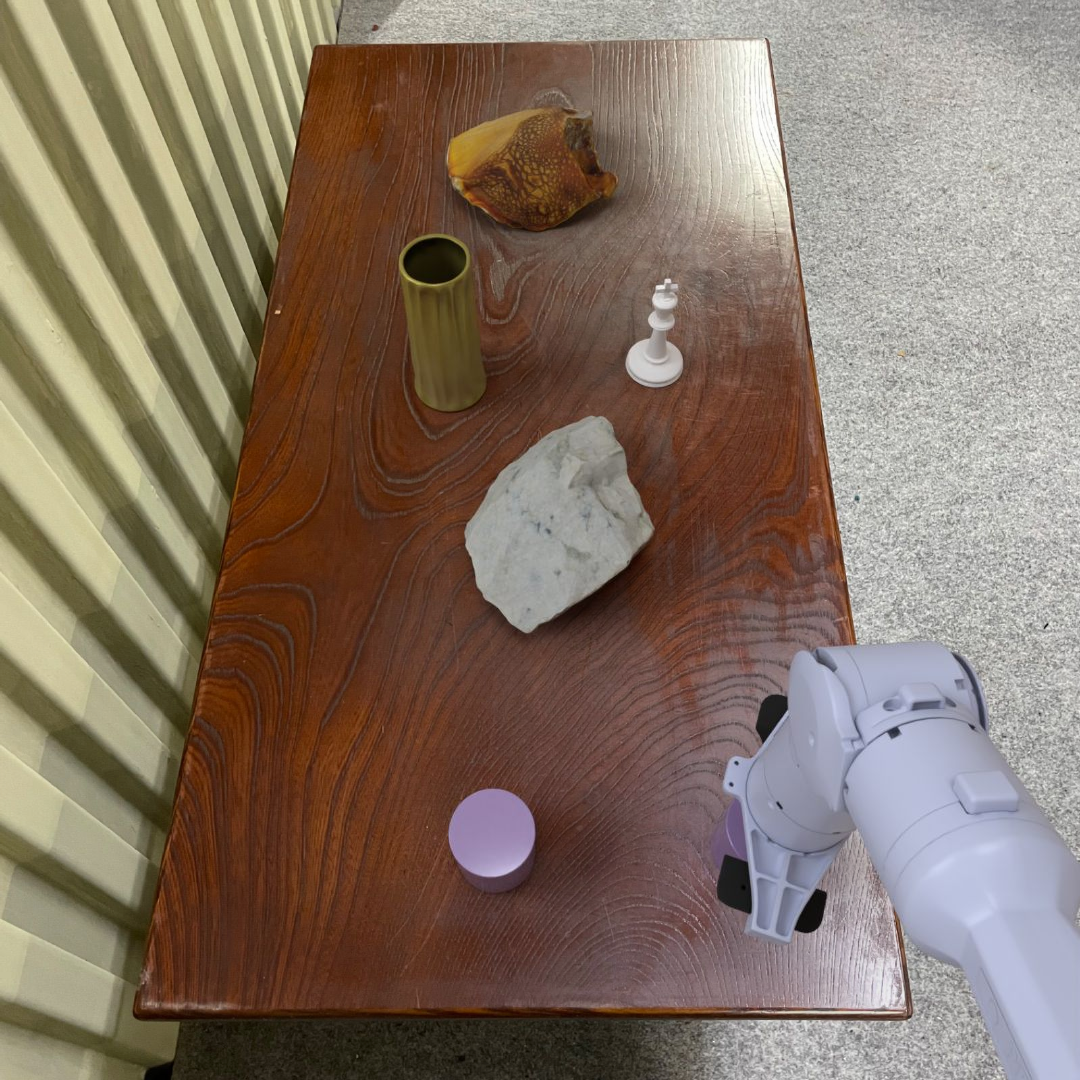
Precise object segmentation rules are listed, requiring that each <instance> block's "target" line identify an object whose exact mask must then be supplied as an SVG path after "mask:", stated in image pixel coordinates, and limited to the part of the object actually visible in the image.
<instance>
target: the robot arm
mask: <svg viewBox="0 0 1080 1080" xmlns="http://www.w3.org/2000/svg"><path fill="white" fill-rule="evenodd" d="M787 681H788V682H787V696H786V695H783V694H778V693H775V694H773V693H772V694H770V695H768V696H766V697H765V698H764V699H763V700H762V701H761V703H760V707H759V711H758V714H757V719H756V723H755V731H756V732H757V734H758V736H759V738H760V741H761V743H762V745H761V746H760V748H759V749H758V751H757V752H756V753H755V755H754V756H752V757H750V758H748V757H744V756H741V755H735V756H731V758H730V759H729V761H728V762H727V764H726V767H725V772H724V776H723V780H722V785H721V786H722V791H723V792H724V794H726V795H727V796H728V797H732V798H733V799H734V798H736V799H738V800H739V802H740V803H741V807H742V815H743V824H744V832H745V841H746V849H747V858H748V862H746V861H744V860H741V859H738V858H735V857H732V856H729V855H726V854H725V855H724V858H723V862H722V866H721V870H719V875H718V879H717V883H716V896H717V899H718V901H719V902H720V903H722V904H723V905H725V906H727V907H728V908H731V909H734V910H737V911H739V912H742V913H745V914H748V916H747V918H746V923H745V927H744V931H743V933H744V934H745V935H747V936H750V937H753V938H755V939H758V940H760V941H762V942H763V941H764V942H766V943H769V944H773V945H775V946H778V947H780V948H781V947H784V946H786V945H789V944H791V943H792V940H793V936H794V932H795V931H796V932H798V933H801V934H812V933H814V932H815V931H817V930H818V929H819V928H820V926H821V925H822V924H823V920H824V914H825V910H826V904H827V900H828V893H827V891H825V890H823V889H820V888H818V886H819V885H820V883H821V882H822V880H823V879H824V877H825V876H826V874H827V873H828V871H829V870H830V868H831V867H832V864H833V863H834V861H835V860H836V859H837V857H838V855H839V854H840V852H841V851H842V849H843V847H844V846H845V844H846V843H847V842H848V840H849V839H850V837H851V835H852V833H853V832H855V831H857V833H858V834H859V836H860V838H861V840H862V843H863V845H864V848H865V849H866V851H867V853H868V855H869V858H870V860H871V863H872V864H873V867H874V868H875V871H876V872H877V875H878V877H879V879H880V882H881V883H882V885H883V888H884V891H885V893H886V895H887V896H888V898H889V901H890V903H891V905H892V908H893V909H894V911H895V913H896V916H897V918H898V920H899V922H900V924H901V926H902V928H903V931H904V933H905V935H906V937H907V938H908V939H909V941H910V942H911V943H912V944H913V945H914V947H916V948H917V949H918V950H919V951H920V952H922V953H923V954H925V955H926V956H928V957H930V958H932V959H934V960H936V961H938V962H940V963H942V964H943V963H944V964H945V965H950V966H952V967H954V968H957V969H960V970H963V974H964V976H965V978H966V980H967V983H968V985H969V988H970V990H971V993H972V995H973V998H974V1000H975V1002H976V1005H977V1007H978V1010H979V1013H980V1015H981V1018H982V1020H983V1022H984V1024H985V1027H986V1030H987V1032H988V1035H989V1037H990V1039H991V1042H992V1044H993V1047H994V1049H995V1052H996V1055H997V1057H998V1059H999V1061H1000V1065H1001V1066H1002V1069H1003V1071H1004V1073H1005V1076H1006V1079H1007V1080H1080V927H1079V925H1078V924H1077V923H1076V917H1077V916H1078V913H1079V910H1080V862H1079V861H1078V859H1077V857H1076V855H1075V854H1074V853H1073V851H1072V849H1070V848H1069V847H1068V845H1067V844H1066V842H1065V841H1064V840H1063V837H1062V836H1061V834H1059V832H1058V831H1057V829H1056V828H1055V827H1054V825H1053V824H1052V822H1051V821H1050V820H1049V818H1048V817H1047V815H1046V814H1045V813H1044V811H1043V810H1042V808H1041V807H1040V806H1039V804H1038V803H1037V801H1036V800H1035V799H1034V797H1033V795H1032V794H1031V793H1030V792H1029V790H1028V789H1027V787H1026V786H1025V785H1024V783H1023V781H1022V780H1021V779H1020V777H1019V776H1018V775H1017V773H1016V772H1015V771H1014V769H1013V768H1012V766H1011V765H1010V764H1009V763H1008V761H1007V759H1006V758H1005V757H1004V755H1003V754H1002V753H1001V750H999V749H998V747H997V745H996V744H995V743H994V742H993V740H992V739H991V737H990V719H989V718H990V717H989V709H988V704H987V703H988V702H987V698H986V695H985V693H984V692H983V689H984V688H983V686H982V683H981V680H980V678H979V676H978V674H977V672H976V670H975V668H974V667H973V665H972V664H971V662H970V661H969V660H968V659H967V658H966V657H965V656H964V655H963V654H961V653H959V652H956V651H950V650H949V648H948V647H946V646H945V645H944V644H943V643H941V642H939V641H938V640H935V641H933V640H917V641H916V640H915V641H901V642H885V643H883V642H882V643H881V642H880V643H867V644H851V645H850V644H849V645H833V646H831V645H830V646H819V647H816V648H815V649H814V650H813V651H812V652H811V653H810V652H809V651H808V650H805V649H804V650H803V649H801V650H799V651H797V652H796V653H795V655H794V656H793V658H792V661H791V664H790V667H789V673H788V680H787Z"/></svg>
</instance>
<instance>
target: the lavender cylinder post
mask: <svg viewBox="0 0 1080 1080" xmlns="http://www.w3.org/2000/svg"><path fill="white" fill-rule="evenodd" d="M536 838H537V837H536V823H535V819H534V816H533V814H532V811H531V810H530V808H529V806H528V805H527V804H526V803H525V801H524V800H522V799H521V798H520V797H519V796H517V794H514V793H513V792H511V791H508V790H506V789H501V788H485V789H481V790H478V791H476V792H473V793H471V794H470V795H468V796H467V797H466V798H464V799H463V800H462V801H461V802H460V803H459V804H458V805H457V807H456V808H455V810H454V812H453V813H452V816H451V818H450V821H449V826H448V843H449V848H450V850H451V853H452V855H453V858H454V860H455V862H456V865H457V867H458V868H459V872H460V874H461V875H462V876H463V878H464V879H465V880H466V882H467V883H469V884H470V885H471V886H472V887H474V888H475V889H477V890H478V891H479V890H480V891H481V892H484V893H491V894H500V893H506V892H509V891H511V890H514V889H515V888H516V887H517V888H518V886H519V885H521V884H522V883H523V882H525V880H526V879H527V878H528V876H530V873H531V872H532V870H533V867H534V864H535V861H536V854H537V839H536Z"/></svg>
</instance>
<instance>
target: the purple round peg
mask: <svg viewBox="0 0 1080 1080" xmlns="http://www.w3.org/2000/svg"><path fill="white" fill-rule="evenodd" d="M710 852H711V856H712V858H713V862H714V864H715V866H716V867H717V869H718V871H720V870H721V866H722V862H723V858H724V855H725V854H726V855H729V856H732V857H735V858H738V859H741V860H744V861H746V862H748V858H747V849H746V841H745V832H744V824H743V815H742V807H741V803H740V802H739V800H738V799H736V798H734V797H733V799H732V801H730V804H729V805H728V806H727V808H726V809H725V810H724V812H723V813H722V814H721V815H720V817H719V818H718V819H717V820H716V821H715V824H714V825H713V828H712V829H711V835H710Z"/></svg>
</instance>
